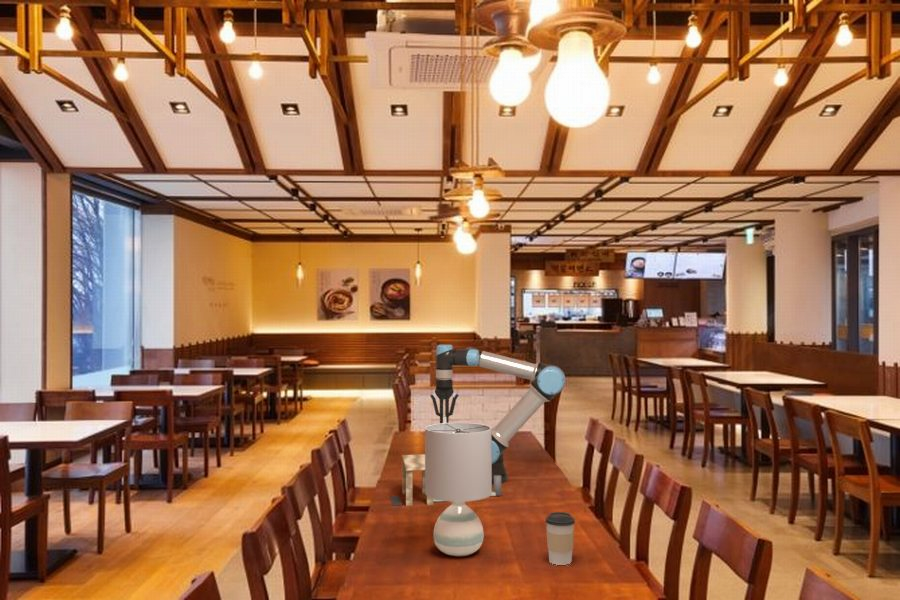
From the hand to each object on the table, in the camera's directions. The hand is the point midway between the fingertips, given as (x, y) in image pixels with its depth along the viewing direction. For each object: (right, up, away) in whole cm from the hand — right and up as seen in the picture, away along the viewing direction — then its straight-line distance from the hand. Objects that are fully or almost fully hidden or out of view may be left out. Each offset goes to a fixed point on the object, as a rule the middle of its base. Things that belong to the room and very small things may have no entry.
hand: (444, 431), depth 329 cm
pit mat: (-20, -24, -27) cm, 41 cm away
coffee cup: (+37, -23, -101) cm, 110 cm away
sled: (+9, -23, -21) cm, 33 cm away
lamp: (+5, -23, -92) cm, 95 cm away
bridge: (-11, -24, -24) cm, 36 cm away
